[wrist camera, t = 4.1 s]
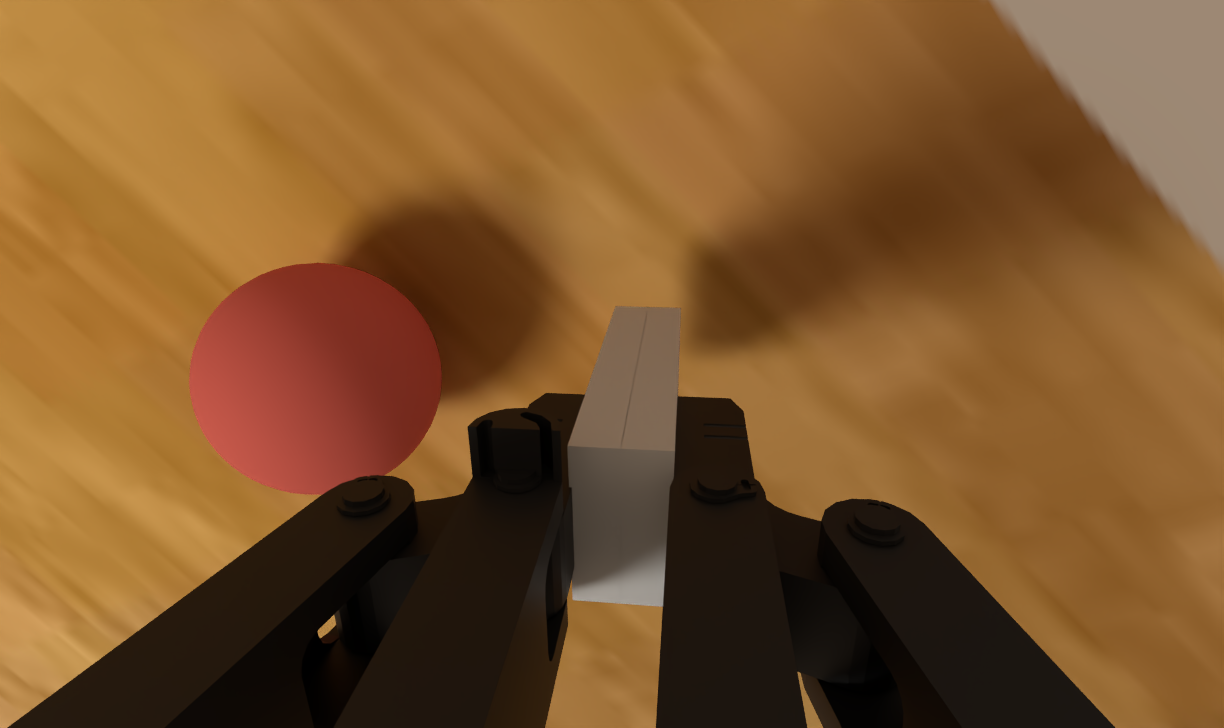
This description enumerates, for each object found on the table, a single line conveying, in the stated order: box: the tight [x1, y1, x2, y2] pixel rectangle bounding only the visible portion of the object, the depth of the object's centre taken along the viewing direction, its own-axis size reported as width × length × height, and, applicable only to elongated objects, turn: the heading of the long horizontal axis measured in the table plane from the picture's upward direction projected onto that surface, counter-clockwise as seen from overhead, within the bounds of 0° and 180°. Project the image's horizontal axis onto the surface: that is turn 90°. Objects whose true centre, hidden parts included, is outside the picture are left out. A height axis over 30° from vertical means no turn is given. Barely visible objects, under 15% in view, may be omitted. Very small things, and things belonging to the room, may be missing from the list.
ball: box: [189, 263, 442, 494], centre depth 16 cm, size 6×6×6 cm
